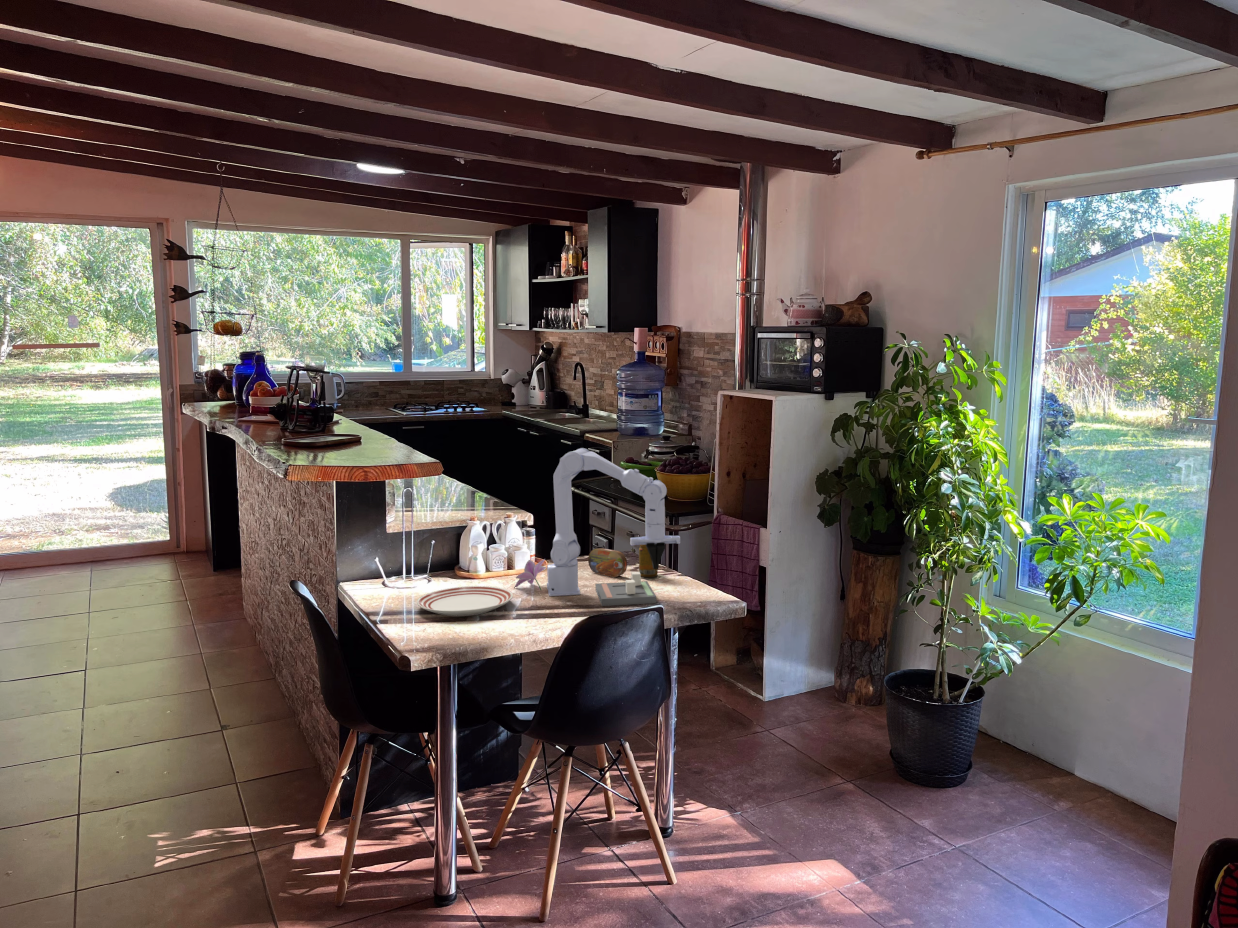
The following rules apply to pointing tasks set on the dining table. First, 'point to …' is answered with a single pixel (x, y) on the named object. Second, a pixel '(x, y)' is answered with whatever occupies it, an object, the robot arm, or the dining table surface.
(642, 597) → the grey board
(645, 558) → the condiment
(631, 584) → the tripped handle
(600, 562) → the tin
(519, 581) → the lily
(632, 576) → the handle
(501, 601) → the dinner plate
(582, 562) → the dining table surface
